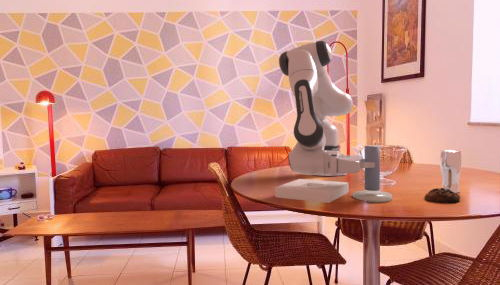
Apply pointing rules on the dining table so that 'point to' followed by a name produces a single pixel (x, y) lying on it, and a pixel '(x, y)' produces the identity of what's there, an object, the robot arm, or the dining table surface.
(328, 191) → the pocket block
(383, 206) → the dining table surface
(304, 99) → the robot arm
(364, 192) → the sage trivet
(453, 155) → the white tall piece
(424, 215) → the dining table surface
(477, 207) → the dining table surface
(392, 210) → the dining table surface
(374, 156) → the slate peg
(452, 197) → the bread roll
